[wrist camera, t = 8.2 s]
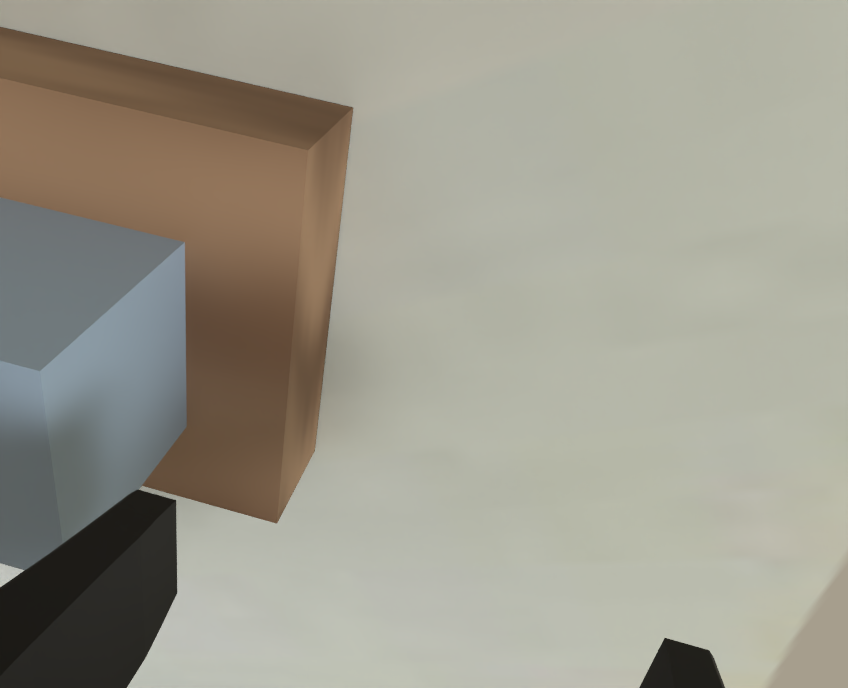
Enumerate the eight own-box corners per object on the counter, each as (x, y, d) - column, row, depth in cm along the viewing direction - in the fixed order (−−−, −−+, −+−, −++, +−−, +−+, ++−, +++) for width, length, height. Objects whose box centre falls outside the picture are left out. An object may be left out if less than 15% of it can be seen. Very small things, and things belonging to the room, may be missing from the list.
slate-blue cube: (187, 426, 20) (67, 582, 15) (-3, 376, 20) (-167, 514, 16) (184, 241, 17) (39, 371, 13) (-34, 188, 17) (-242, 296, 13)
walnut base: (314, 450, 23) (276, 523, 21) (-6, 364, 24) (-79, 423, 22) (352, 107, 18) (308, 150, 15) (-62, 12, 19) (-168, 38, 16)
